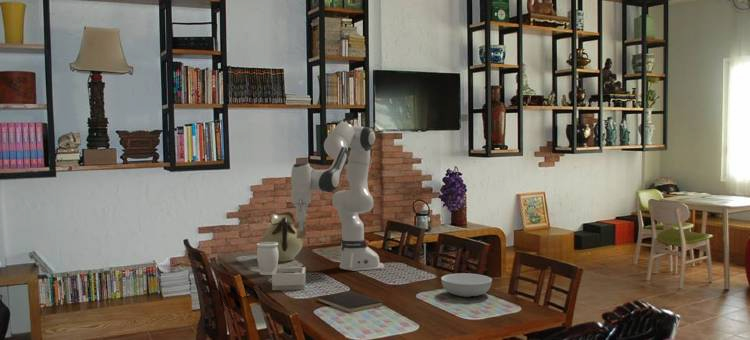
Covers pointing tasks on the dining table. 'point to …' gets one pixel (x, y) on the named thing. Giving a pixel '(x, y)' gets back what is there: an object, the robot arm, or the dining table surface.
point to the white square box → (289, 278)
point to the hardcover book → (350, 301)
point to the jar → (267, 257)
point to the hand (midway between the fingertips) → (301, 230)
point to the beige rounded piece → (283, 236)
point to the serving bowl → (466, 284)
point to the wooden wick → (301, 233)
